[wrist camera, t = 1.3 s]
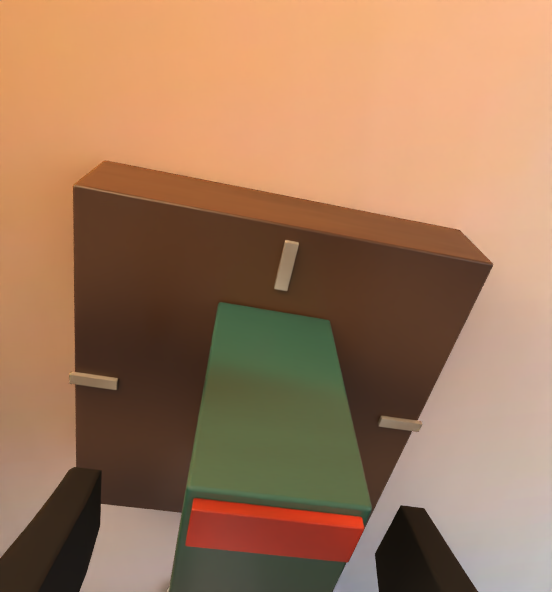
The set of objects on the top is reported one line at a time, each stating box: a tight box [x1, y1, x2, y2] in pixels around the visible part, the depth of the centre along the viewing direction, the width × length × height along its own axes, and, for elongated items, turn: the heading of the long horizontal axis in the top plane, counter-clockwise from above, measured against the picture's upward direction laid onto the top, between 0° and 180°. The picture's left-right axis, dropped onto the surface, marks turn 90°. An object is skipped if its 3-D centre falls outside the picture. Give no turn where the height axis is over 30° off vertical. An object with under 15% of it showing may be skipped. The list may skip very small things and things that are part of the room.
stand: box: [69, 161, 493, 529], centre depth 16 cm, size 12×11×3 cm
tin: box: [169, 302, 372, 592], centre depth 12 cm, size 7×3×6 cm, turn 168°
